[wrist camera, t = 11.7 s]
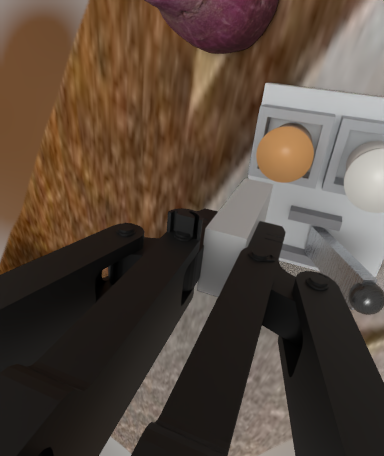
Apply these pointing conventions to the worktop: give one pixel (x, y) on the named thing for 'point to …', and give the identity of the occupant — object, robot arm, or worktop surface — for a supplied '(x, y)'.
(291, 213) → the panel
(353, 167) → the plunger white
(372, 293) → the lever
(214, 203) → the worktop surface
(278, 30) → the worktop surface
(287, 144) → the plunger orange
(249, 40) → the vegetable
